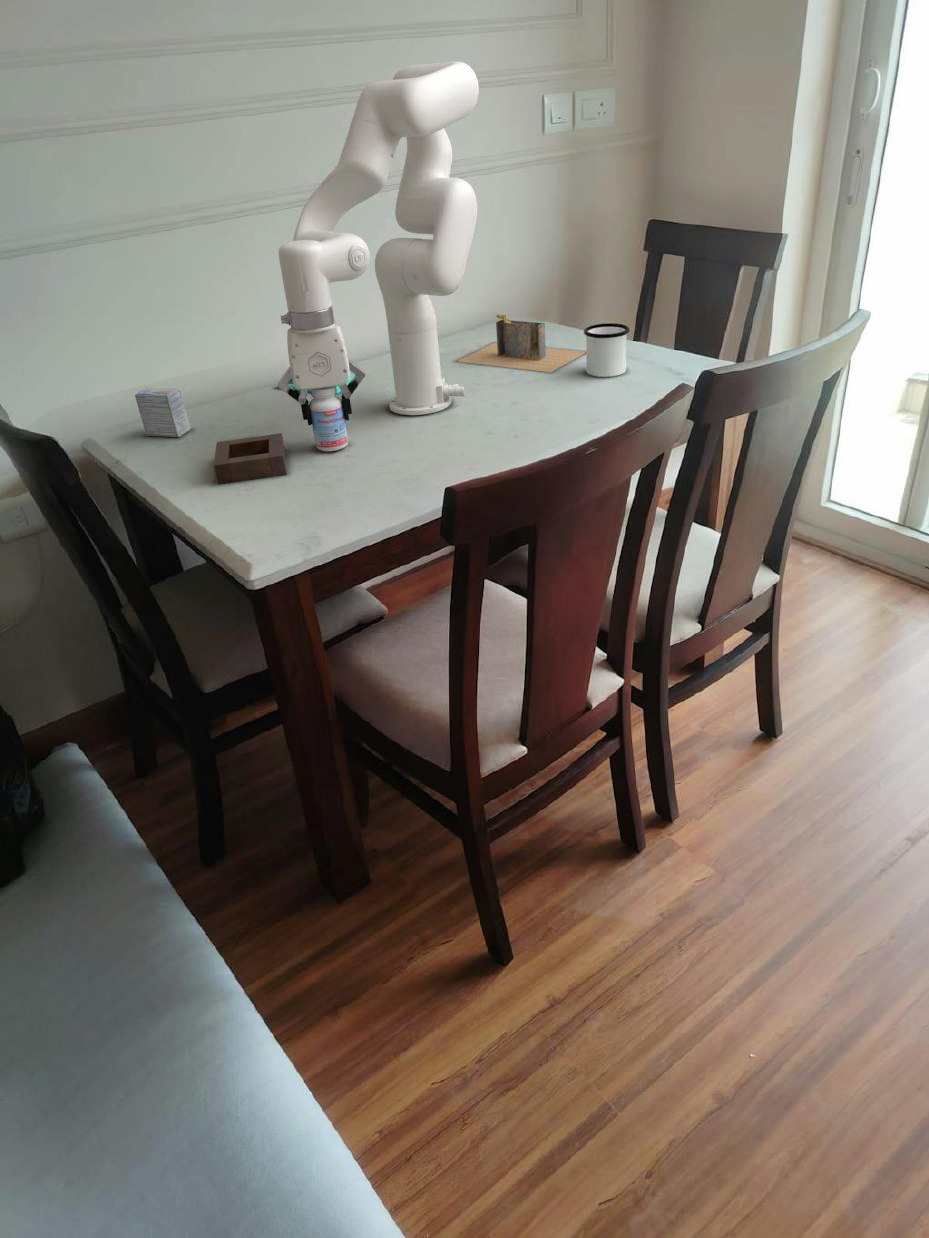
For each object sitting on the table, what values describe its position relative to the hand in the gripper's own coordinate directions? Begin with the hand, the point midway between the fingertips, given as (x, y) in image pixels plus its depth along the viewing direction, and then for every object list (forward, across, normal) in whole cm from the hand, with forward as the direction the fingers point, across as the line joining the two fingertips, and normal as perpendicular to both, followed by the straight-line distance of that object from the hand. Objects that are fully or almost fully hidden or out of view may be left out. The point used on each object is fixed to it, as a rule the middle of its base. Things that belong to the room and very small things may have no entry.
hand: (328, 419), depth 160 cm
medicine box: (+5, -32, +21) cm, 38 cm away
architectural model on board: (+5, +46, +42) cm, 62 cm away
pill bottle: (+5, 0, 0) cm, 5 cm away
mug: (+5, +61, +23) cm, 65 cm away
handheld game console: (+5, 0, +41) cm, 41 cm away
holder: (+5, -15, -4) cm, 16 cm away
